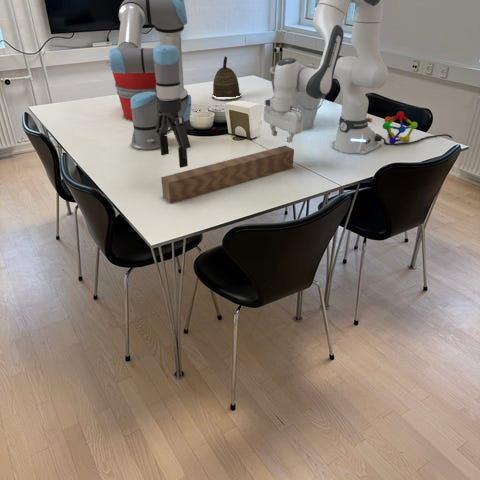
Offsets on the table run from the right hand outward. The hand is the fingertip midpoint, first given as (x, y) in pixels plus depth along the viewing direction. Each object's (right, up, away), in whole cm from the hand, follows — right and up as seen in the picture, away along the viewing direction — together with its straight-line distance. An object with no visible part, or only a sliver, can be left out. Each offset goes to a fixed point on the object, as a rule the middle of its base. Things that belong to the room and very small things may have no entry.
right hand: (281, 138), depth 178 cm
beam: (-20, -18, -5) cm, 27 cm away
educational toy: (+57, +5, +33) cm, 66 cm away
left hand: (-40, -13, -25) cm, 49 cm away
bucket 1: (-69, +29, +70) cm, 102 cm away
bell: (-25, +50, +104) cm, 118 cm away
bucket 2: (+13, +20, +55) cm, 60 cm away
